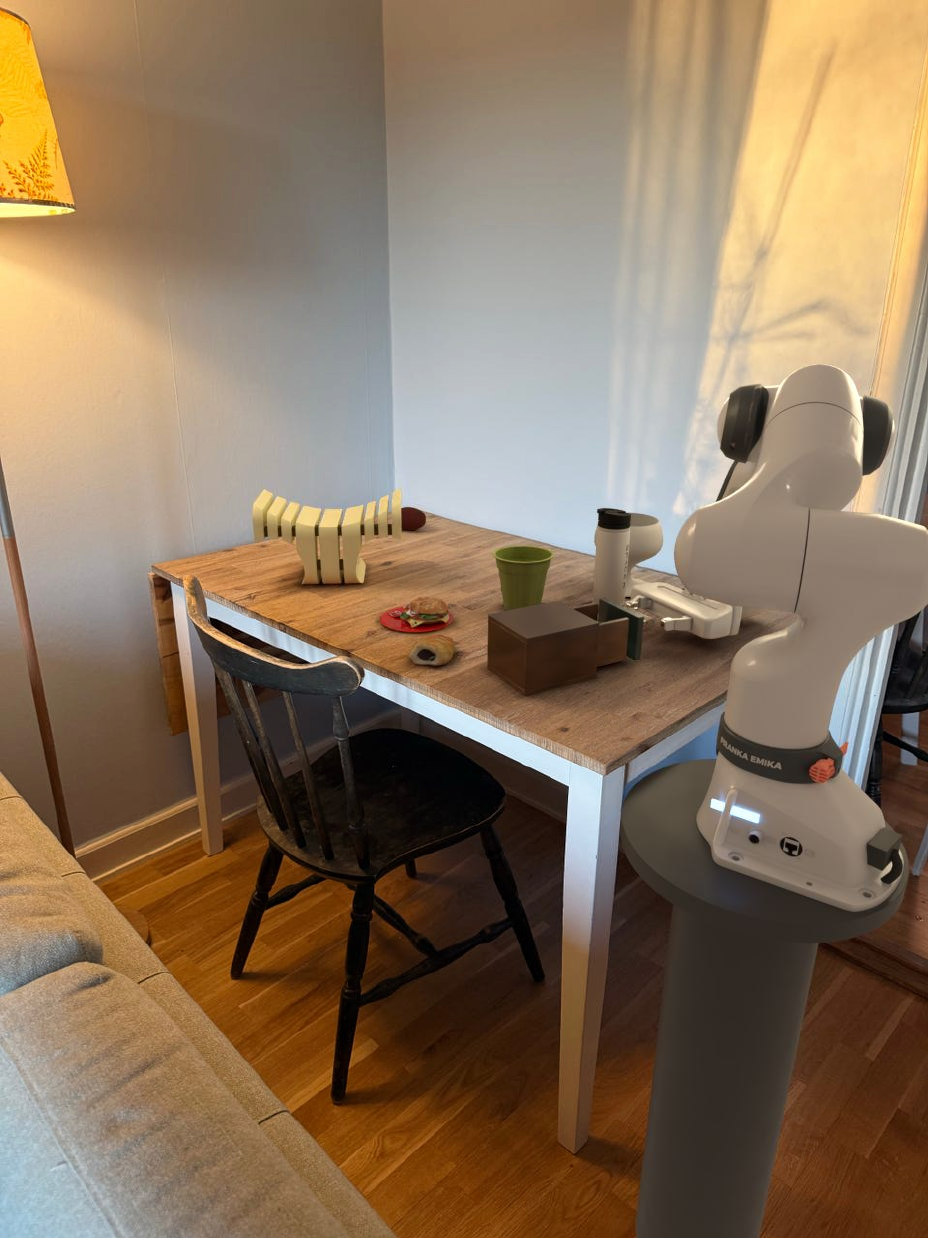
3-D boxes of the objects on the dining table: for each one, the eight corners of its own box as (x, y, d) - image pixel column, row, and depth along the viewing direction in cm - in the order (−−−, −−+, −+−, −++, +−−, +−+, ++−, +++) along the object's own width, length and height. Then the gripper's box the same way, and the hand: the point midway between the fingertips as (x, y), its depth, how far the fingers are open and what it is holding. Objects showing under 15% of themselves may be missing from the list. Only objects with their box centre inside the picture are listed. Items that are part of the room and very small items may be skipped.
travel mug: (585, 604, 165) (591, 506, 158) (615, 600, 167) (622, 503, 160) (599, 614, 160) (606, 513, 152) (629, 611, 161) (637, 511, 154)
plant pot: (556, 600, 167) (558, 547, 163) (545, 621, 156) (548, 564, 152) (499, 595, 170) (500, 542, 166) (485, 615, 159) (486, 559, 155)
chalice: (654, 603, 166) (661, 530, 160) (585, 595, 170) (589, 524, 164) (662, 582, 178) (668, 514, 172) (597, 575, 182) (602, 508, 177)
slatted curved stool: (259, 589, 173) (251, 506, 166) (270, 566, 187) (263, 489, 181) (402, 587, 174) (400, 504, 168) (403, 564, 189) (400, 487, 183)
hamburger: (439, 603, 165) (438, 574, 163) (464, 627, 153) (464, 597, 151) (371, 612, 161) (370, 582, 158) (391, 638, 148) (390, 606, 146)
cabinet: (554, 652, 143) (557, 600, 139) (596, 678, 133) (599, 622, 130) (487, 668, 136) (487, 614, 133) (525, 696, 127) (526, 638, 123)
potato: (411, 524, 223) (411, 502, 221) (431, 530, 216) (431, 508, 214) (388, 528, 218) (388, 506, 216) (409, 535, 212) (408, 512, 210)
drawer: (621, 634, 148) (624, 593, 145) (660, 655, 139) (664, 612, 137) (543, 652, 140) (544, 609, 138) (579, 675, 132) (582, 630, 129)
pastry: (427, 643, 146) (427, 623, 145) (463, 648, 144) (464, 628, 143) (407, 664, 138) (407, 643, 136) (445, 670, 136) (445, 648, 134)
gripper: (666, 570, 156) (608, 581, 150) (749, 603, 139) (687, 617, 133) (663, 601, 158) (606, 614, 152) (744, 638, 141) (683, 653, 135)
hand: (644, 616), depth 142 cm, fingers open, 8 cm apart
